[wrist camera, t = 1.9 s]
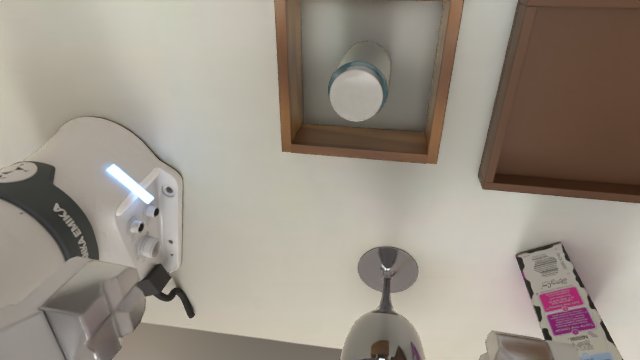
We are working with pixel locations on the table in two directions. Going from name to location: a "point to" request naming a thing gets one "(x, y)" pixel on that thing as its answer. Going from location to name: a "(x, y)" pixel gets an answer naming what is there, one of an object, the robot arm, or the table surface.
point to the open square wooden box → (352, 138)
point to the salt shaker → (360, 82)
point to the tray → (568, 102)
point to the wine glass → (384, 311)
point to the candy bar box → (565, 303)
